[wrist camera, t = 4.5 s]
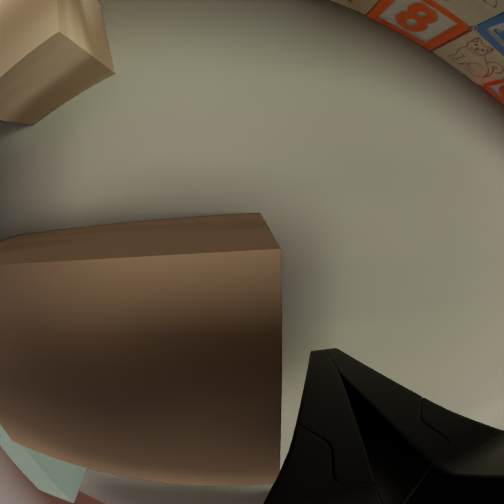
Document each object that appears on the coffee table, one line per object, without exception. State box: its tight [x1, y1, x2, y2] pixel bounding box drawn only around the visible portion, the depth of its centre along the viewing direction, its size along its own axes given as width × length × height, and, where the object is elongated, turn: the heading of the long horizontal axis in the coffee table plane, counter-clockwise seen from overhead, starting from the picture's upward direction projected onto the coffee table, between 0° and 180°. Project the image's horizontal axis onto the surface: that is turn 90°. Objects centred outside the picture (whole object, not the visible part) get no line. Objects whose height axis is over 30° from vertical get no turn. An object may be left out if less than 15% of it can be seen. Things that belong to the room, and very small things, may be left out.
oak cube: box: [0, 0, 115, 125], centre depth 6 cm, size 4×4×4 cm
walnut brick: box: [0, 213, 282, 486], centre depth 8 cm, size 7×10×5 cm
